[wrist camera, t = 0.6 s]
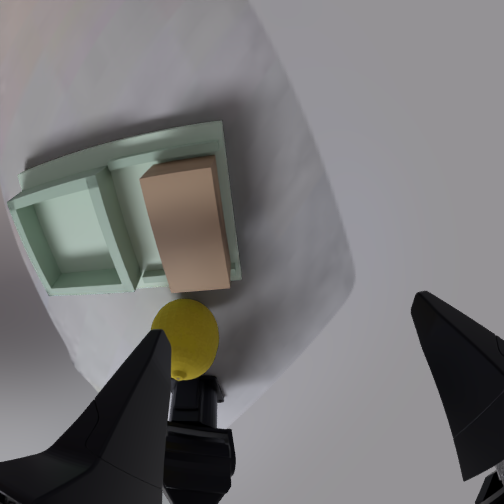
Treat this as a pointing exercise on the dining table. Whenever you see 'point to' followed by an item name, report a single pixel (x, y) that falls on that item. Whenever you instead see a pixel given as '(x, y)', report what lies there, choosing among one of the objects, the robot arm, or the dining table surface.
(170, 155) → the tray
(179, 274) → the tan rectangular block
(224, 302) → the dining table surface
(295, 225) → the dining table surface
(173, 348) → the lemon
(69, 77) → the dining table surface
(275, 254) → the dining table surface
